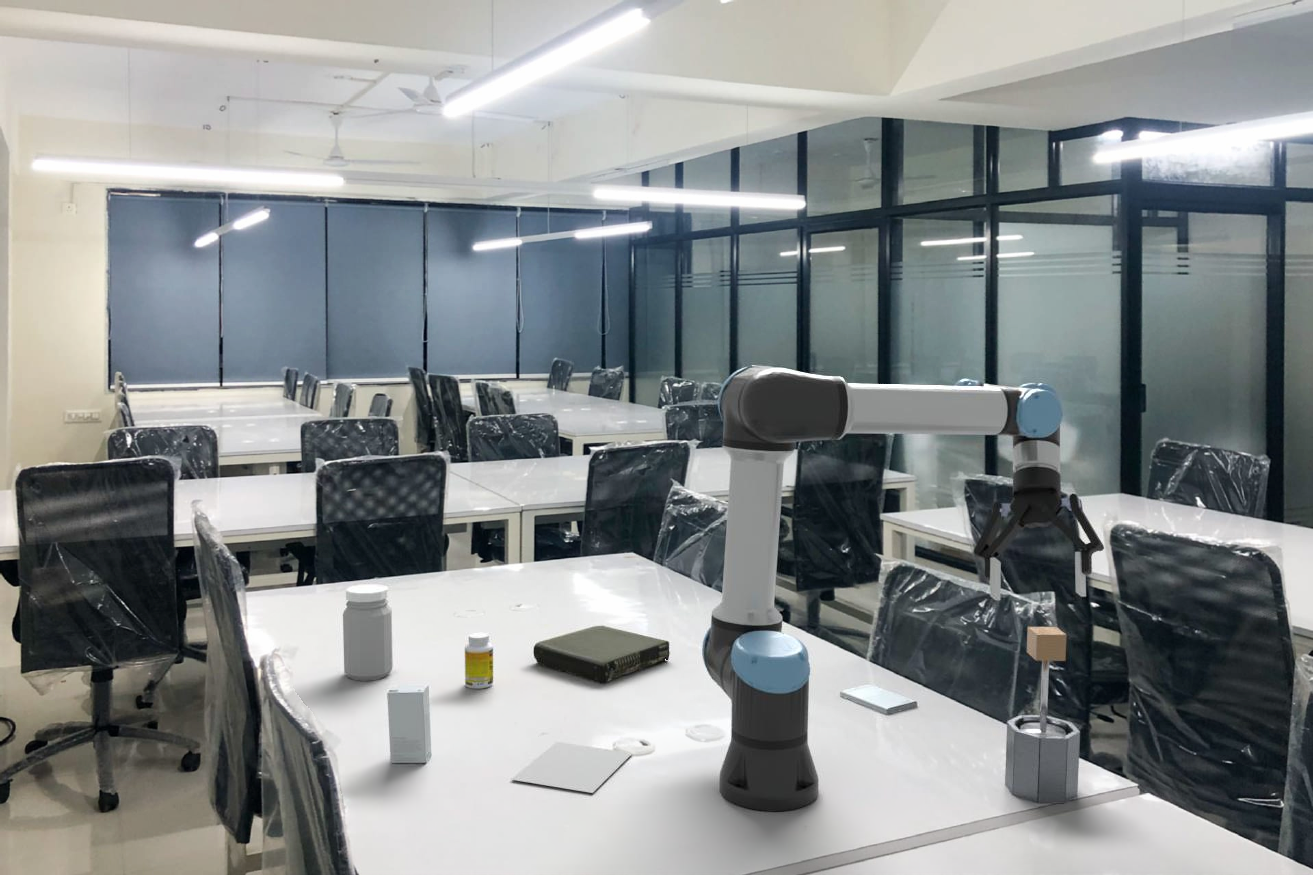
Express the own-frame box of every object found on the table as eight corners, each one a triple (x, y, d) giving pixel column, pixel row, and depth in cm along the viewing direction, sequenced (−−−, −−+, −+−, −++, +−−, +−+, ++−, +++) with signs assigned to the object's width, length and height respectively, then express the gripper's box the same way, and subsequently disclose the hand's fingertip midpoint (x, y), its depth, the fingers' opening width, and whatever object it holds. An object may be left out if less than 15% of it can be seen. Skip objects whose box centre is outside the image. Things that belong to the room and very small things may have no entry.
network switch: (614, 689, 214) (614, 664, 214) (523, 669, 227) (522, 645, 226) (676, 659, 234) (676, 637, 233) (589, 642, 246) (589, 621, 246)
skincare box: (432, 754, 179) (430, 683, 178) (426, 764, 175) (424, 692, 174) (395, 753, 180) (393, 683, 178) (388, 764, 175) (386, 691, 174)
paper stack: (457, 774, 172) (457, 770, 172) (529, 722, 195) (529, 718, 195) (592, 796, 164) (592, 792, 164) (650, 739, 187) (650, 735, 187)
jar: (333, 675, 220) (331, 589, 219) (371, 664, 228) (369, 580, 227) (365, 684, 215) (363, 596, 213) (403, 672, 223) (401, 586, 221)
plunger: (1027, 742, 162) (1031, 636, 161) (1014, 727, 169) (1018, 624, 167) (1072, 743, 162) (1076, 636, 161) (1057, 727, 169) (1061, 625, 167)
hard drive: (917, 700, 204) (870, 682, 214) (886, 708, 199) (839, 690, 209) (917, 709, 204) (870, 690, 214) (886, 717, 199) (839, 698, 210)
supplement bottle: (494, 688, 213) (493, 638, 212) (465, 690, 212) (465, 639, 211) (492, 679, 218) (491, 630, 217) (464, 681, 217) (463, 632, 216)
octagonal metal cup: (1018, 802, 162) (1020, 737, 161) (999, 775, 171) (1001, 714, 170) (1084, 803, 161) (1087, 738, 160) (1061, 776, 171) (1064, 715, 170)
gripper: (1121, 472, 176) (1125, 599, 167) (972, 488, 190) (970, 605, 182) (1107, 455, 170) (1112, 585, 162) (956, 473, 185) (952, 593, 177)
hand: (1037, 596), depth 172 cm, fingers open, 13 cm apart
